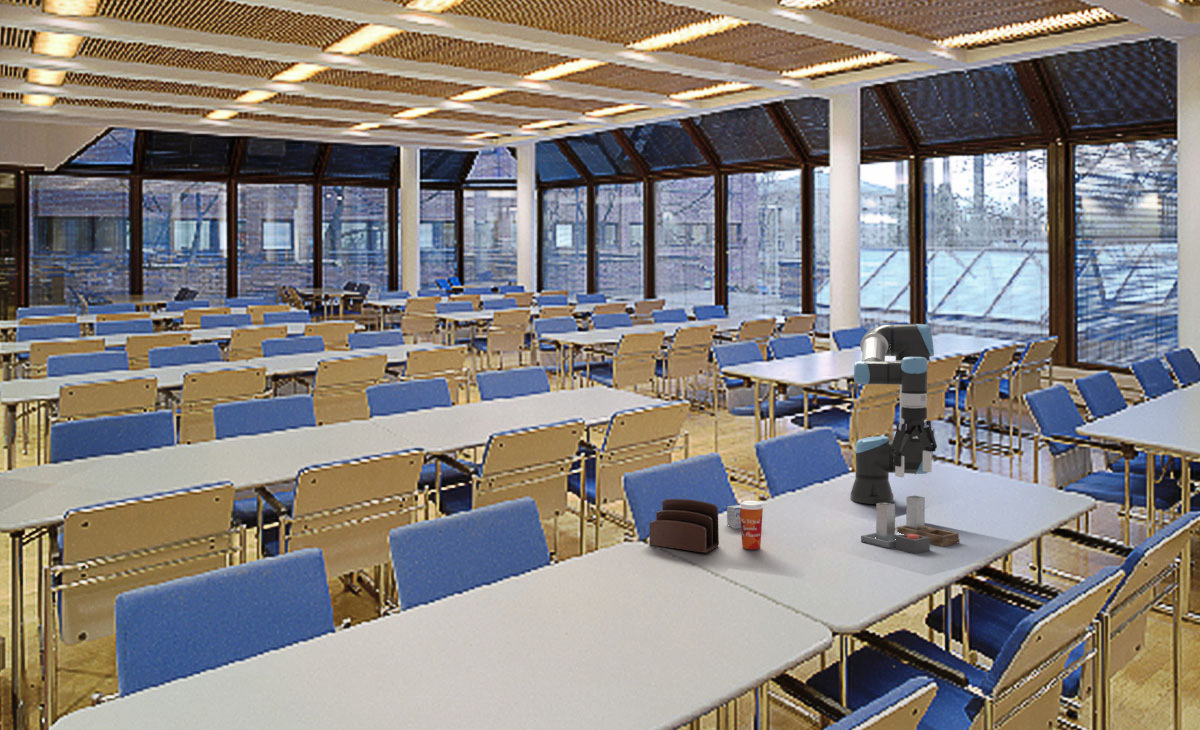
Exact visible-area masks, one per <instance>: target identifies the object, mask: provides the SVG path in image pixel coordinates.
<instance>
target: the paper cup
mask: <svg viewBox="0 0 1200 730" xmlns="http://www.w3.org/2000/svg"><path fill="white" fill-rule="evenodd" d="M738 505H739V508H740V520H741V528H740V531H741V546H742V548H743V549H744V550H745V549H746V550H758V549H760V548H761V544H762V530H763V529H762V527H763V525H762V524H763V509H764V508H765V506H764V504H763V503H762V501H759V500H758V501H757V500H743V501H741V502H740V503H739V504H738Z"/></svg>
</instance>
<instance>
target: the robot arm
mask: <svg viewBox="0 0 1200 730" xmlns="http://www.w3.org/2000/svg"><path fill="white" fill-rule="evenodd" d="M933 340H934V339H933V335H932V329H931V327H930V326H929V325H928V324H923V323H906V324H905V323H904V324H903V323H900V324H899V323H897V324H891V323H889V324H887V323H886V324H882V325H878V326H876V327H873V328H871V329H870V330H868V331H867V332H865V334H864V335H863V336H862V338H861V341H860V345H859V346H860V350H861V351H860V352H861V353H862V356H861V361H860V360H859V361H855V362H854V365H853V366H854V367H853V379H854V380H853V381H854V382H855V384H857V385H895V386H896V385H898V386H899V422H898V423H897V424H896V430H895V433H894V435H893V436H894V437H893V440H890V438H889V437H888V436H885V435H884V436H882V435H880V436H877V435H876V436H871V437H864V438H859V439H857V441H856V443H855V451H854V454H855V479H854V481H853V482H854V483H853V484H852V487H851V491H850V501H852V502H855V503H859V504H868V505H876V504H878V503H883V502H886V503H891V504H893V503H894V500H895V499H894V497H895V495H894V493H893V491H892V487H891V483H890V481H889V476H890V475H889V473H890V474H891V473H892V474H894V475H895V477H897V478H905V474H909V475H910V474H912V475H925V474H928V473H932V472H933V471H932V470H933V467H932V466H933V464H932V462H933V454H934V452H936V450H937V448H938V444H937V441H936V439H935V435H934V431H933V429H932V421H931V420H927V419H928V408H927V405H928V393H927V392H928V369H929V366H928V364H929V363H930V360H931V359H930V357H931V358H932V357H934V355H935V351H934V350H935V349H934V341H933ZM886 357H895V360H893V361H892V360H891V361H889V360H888V361H886Z"/></svg>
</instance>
